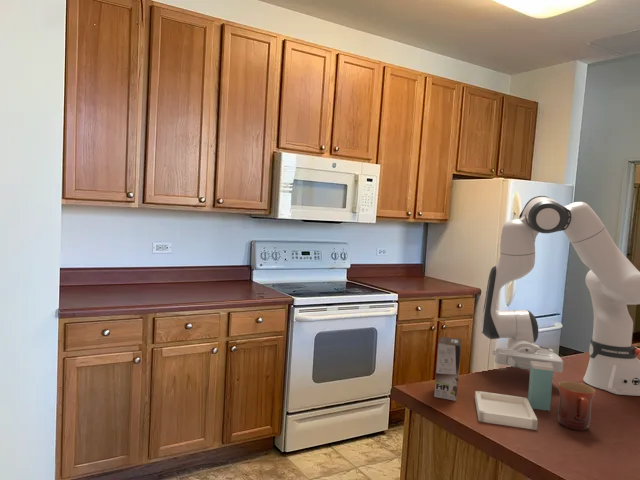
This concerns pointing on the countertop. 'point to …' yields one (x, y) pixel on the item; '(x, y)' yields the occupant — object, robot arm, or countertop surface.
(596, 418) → the countertop surface
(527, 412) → the tray
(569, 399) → the mug
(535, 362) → the tea tin
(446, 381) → the coffee box
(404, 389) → the countertop surface
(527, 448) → the countertop surface
